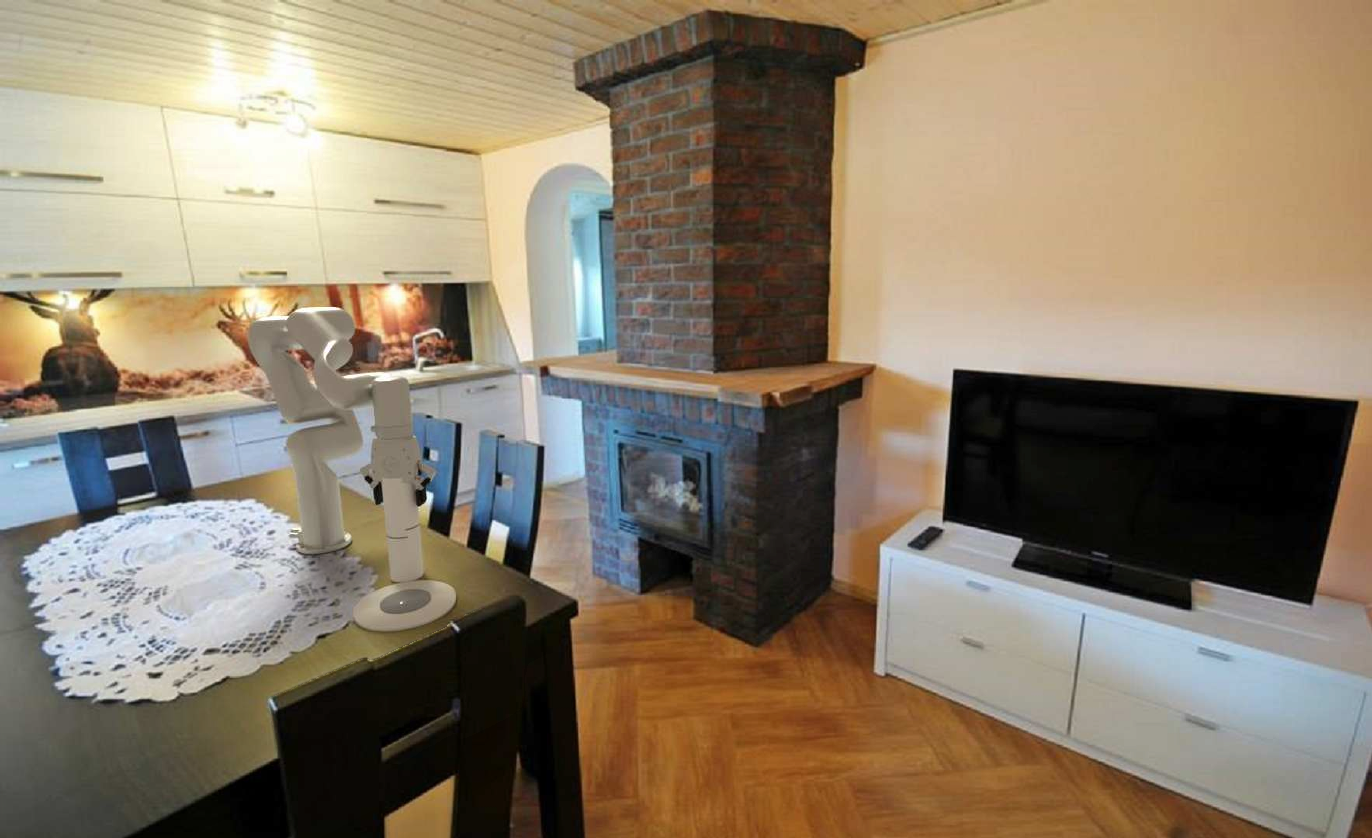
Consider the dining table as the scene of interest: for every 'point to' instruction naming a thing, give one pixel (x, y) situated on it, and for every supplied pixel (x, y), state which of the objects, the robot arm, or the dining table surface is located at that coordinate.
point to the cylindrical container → (402, 530)
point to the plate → (404, 605)
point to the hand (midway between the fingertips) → (400, 503)
